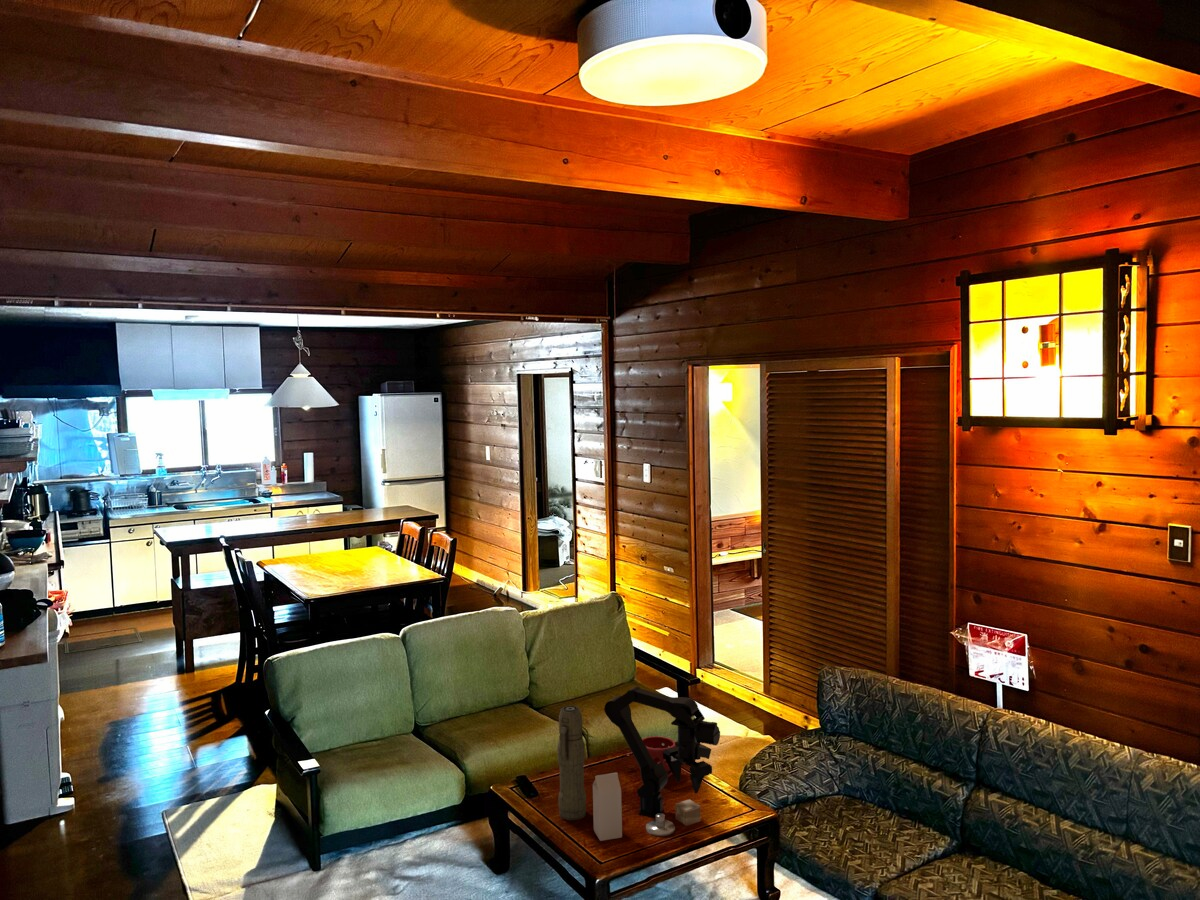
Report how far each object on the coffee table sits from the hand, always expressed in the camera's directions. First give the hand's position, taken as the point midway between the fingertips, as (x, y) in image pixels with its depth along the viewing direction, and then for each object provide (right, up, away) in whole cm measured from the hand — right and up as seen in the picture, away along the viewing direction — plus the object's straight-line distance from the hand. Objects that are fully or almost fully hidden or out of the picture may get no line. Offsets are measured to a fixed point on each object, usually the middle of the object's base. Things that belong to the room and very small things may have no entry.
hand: (687, 787), depth 282 cm
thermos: (-37, -11, +6) cm, 39 cm away
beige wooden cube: (0, -11, +1) cm, 11 cm away
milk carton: (-25, -12, -8) cm, 29 cm away
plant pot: (-7, -9, +35) cm, 37 cm away
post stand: (-9, -11, -5) cm, 15 cm away
